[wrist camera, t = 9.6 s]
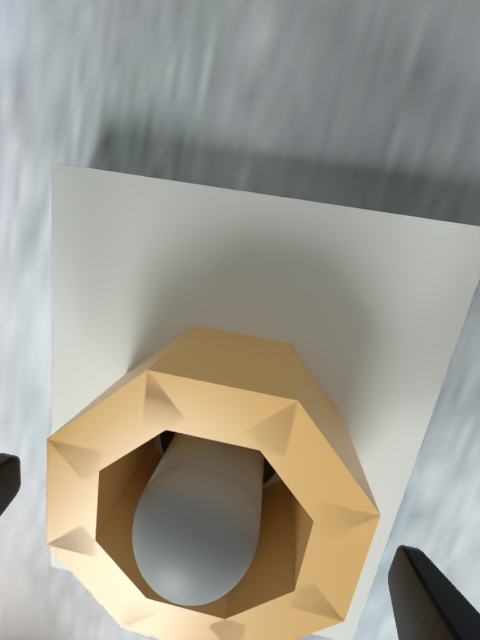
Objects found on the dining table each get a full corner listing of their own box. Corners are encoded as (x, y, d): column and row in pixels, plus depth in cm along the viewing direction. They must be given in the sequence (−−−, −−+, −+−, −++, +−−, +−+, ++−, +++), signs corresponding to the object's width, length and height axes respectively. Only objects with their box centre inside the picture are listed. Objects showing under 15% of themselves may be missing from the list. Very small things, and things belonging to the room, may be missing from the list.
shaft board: (462, 232, 9) (799, 203, 3) (342, 599, 13) (398, 897, 7) (84, 174, 10) (-187, 71, 4) (74, 532, 14) (-78, 746, 8)
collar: (360, 356, 9) (412, 424, 5) (308, 543, 11) (323, 683, 7) (130, 312, 9) (47, 349, 6) (116, 497, 11) (45, 607, 8)
